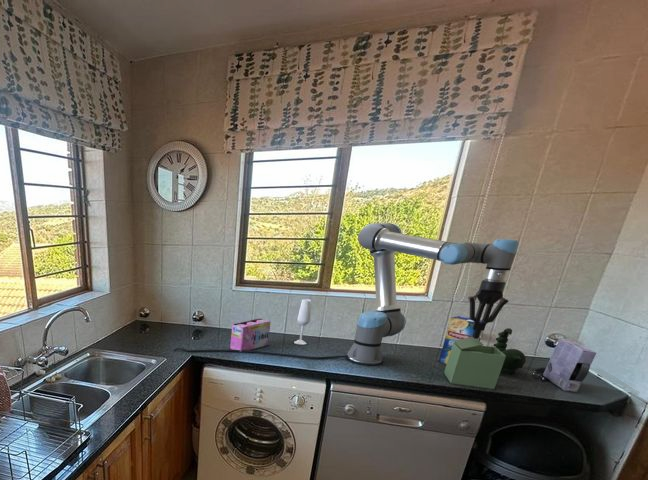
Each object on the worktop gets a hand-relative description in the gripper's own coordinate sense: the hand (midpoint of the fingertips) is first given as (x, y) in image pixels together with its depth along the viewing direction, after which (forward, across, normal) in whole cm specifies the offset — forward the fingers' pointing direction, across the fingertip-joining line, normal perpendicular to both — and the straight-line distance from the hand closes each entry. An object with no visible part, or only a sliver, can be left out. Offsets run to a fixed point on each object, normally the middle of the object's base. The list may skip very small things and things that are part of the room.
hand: (475, 337), depth 167 cm
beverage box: (+19, +2, +24) cm, 31 cm away
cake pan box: (+19, +37, +12) cm, 43 cm away
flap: (+3, -2, 0) cm, 3 cm away
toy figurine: (+19, +21, +25) cm, 38 cm away
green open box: (+19, +2, 0) cm, 19 cm away
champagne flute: (+20, -69, +29) cm, 77 cm away
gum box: (+20, -93, +9) cm, 96 cm away
